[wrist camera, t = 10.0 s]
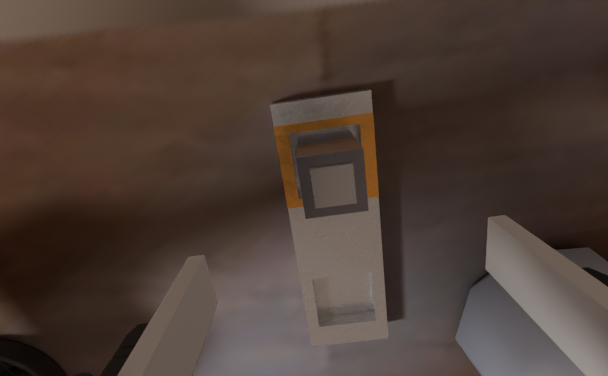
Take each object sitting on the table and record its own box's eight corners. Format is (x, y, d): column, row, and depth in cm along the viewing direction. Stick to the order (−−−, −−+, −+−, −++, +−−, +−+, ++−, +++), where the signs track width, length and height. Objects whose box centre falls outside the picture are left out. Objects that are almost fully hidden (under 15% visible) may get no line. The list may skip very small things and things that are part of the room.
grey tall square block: (305, 185, 33) (305, 220, 26) (298, 137, 32) (295, 159, 24) (354, 178, 33) (369, 212, 25) (349, 129, 32) (364, 149, 24)
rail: (311, 331, 41) (311, 347, 38) (272, 102, 31) (269, 105, 29) (383, 323, 40) (388, 339, 38) (366, 88, 31) (371, 90, 29)
